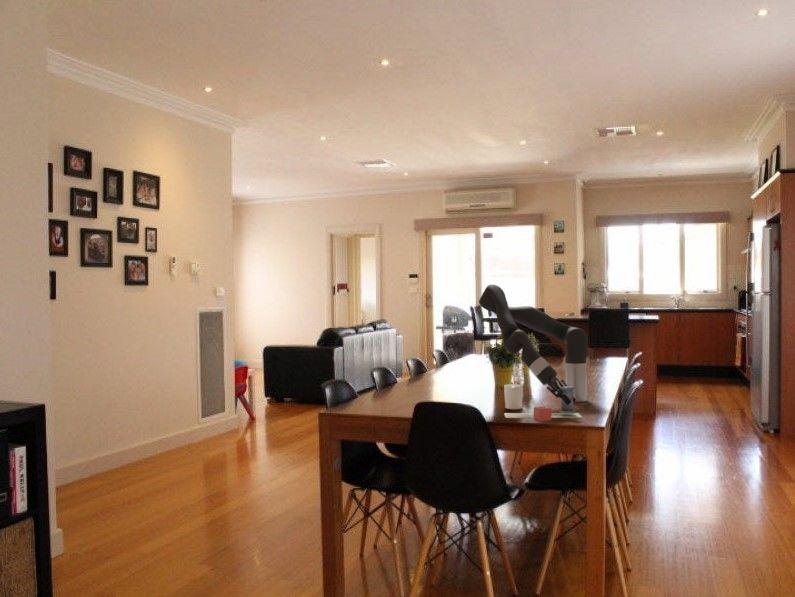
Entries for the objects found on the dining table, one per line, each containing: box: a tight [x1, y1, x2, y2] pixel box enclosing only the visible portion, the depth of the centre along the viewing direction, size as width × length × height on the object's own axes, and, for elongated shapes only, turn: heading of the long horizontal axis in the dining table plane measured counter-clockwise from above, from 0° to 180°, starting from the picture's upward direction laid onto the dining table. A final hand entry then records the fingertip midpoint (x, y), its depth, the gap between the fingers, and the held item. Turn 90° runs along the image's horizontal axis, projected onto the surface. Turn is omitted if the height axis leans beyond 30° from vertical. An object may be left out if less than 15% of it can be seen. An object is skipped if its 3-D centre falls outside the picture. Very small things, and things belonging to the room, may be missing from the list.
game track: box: [503, 412, 583, 419], centre depth 273 cm, size 10×30×1 cm, turn 85°
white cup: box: [503, 383, 523, 410], centre depth 292 cm, size 8×8×10 cm
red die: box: [533, 405, 552, 422], centre depth 264 cm, size 5×5×6 cm
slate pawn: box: [559, 386, 576, 414], centre depth 272 cm, size 6×6×10 cm
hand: (571, 402), depth 271 cm, fingers closed on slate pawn, 4 cm apart
